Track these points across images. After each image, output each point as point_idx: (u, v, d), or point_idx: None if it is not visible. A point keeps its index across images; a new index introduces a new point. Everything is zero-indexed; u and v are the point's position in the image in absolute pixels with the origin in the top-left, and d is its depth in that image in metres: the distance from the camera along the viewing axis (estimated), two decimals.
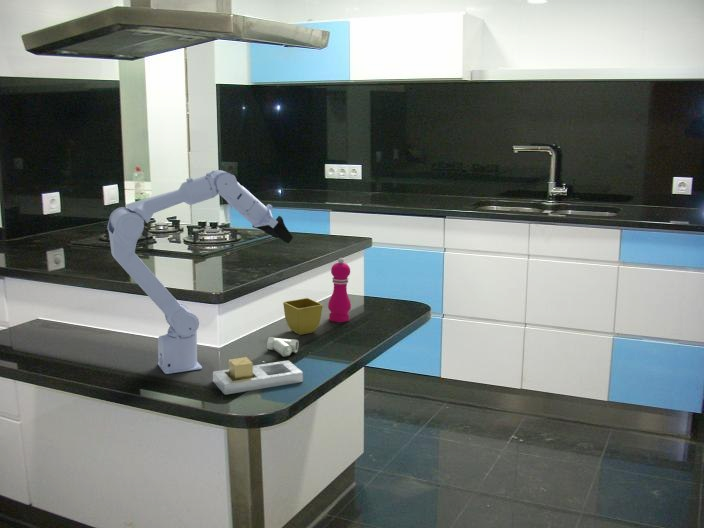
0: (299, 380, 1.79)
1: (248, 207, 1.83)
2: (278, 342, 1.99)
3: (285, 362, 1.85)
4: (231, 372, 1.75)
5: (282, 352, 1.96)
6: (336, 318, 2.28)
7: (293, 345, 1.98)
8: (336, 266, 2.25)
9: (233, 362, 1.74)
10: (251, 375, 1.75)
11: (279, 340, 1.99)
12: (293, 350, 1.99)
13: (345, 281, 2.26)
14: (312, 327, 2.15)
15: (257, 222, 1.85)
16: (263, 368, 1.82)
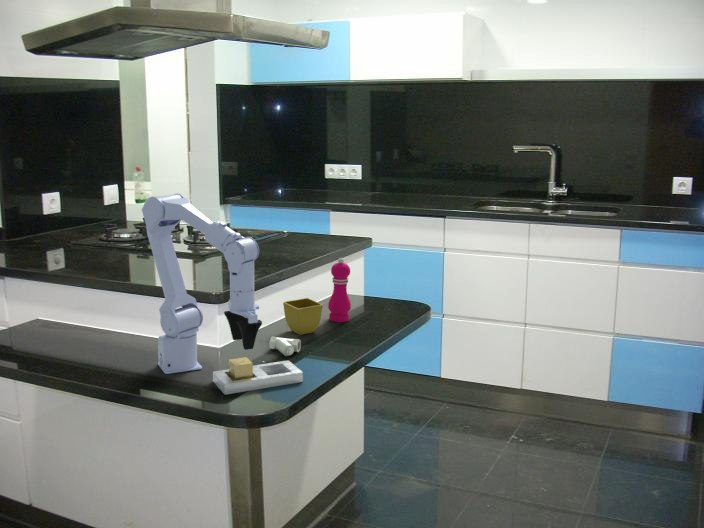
0: (299, 380, 1.79)
1: (232, 288, 1.69)
2: (280, 341, 1.99)
3: (285, 362, 1.85)
4: (231, 372, 1.75)
5: (284, 352, 1.96)
6: (336, 318, 2.28)
7: (295, 345, 1.99)
8: (336, 266, 2.25)
9: (233, 362, 1.74)
10: (251, 375, 1.75)
11: (281, 339, 2.00)
12: (295, 350, 1.99)
13: (345, 281, 2.26)
14: (312, 327, 2.15)
15: (237, 309, 1.70)
16: (263, 368, 1.82)
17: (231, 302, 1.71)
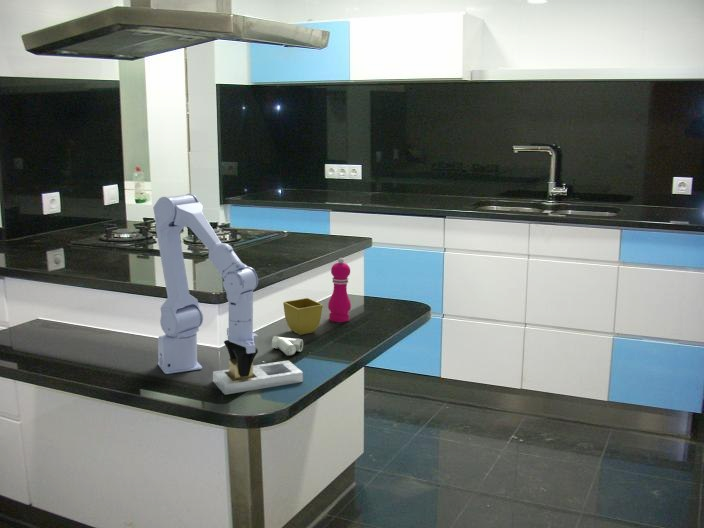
0: (299, 380, 1.79)
1: (231, 318, 1.71)
2: (282, 341, 1.99)
3: (285, 362, 1.85)
4: (231, 371, 1.75)
5: (286, 351, 1.97)
6: (336, 318, 2.28)
7: (297, 344, 1.99)
8: (336, 266, 2.25)
9: (233, 362, 1.74)
10: (251, 375, 1.75)
11: (284, 339, 2.00)
12: (297, 349, 1.99)
13: (345, 281, 2.26)
14: (312, 327, 2.15)
15: (236, 338, 1.71)
16: (263, 368, 1.82)
17: (229, 331, 1.72)
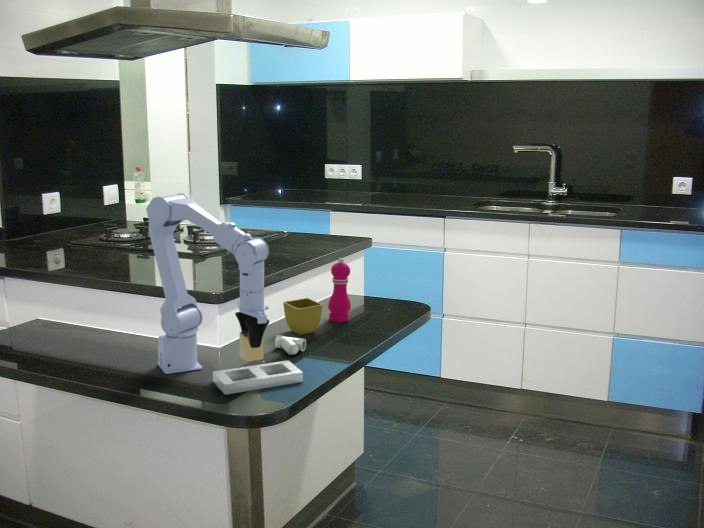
0: (299, 380, 1.79)
1: (243, 289, 1.70)
2: (285, 340, 2.00)
3: (285, 362, 1.85)
4: (242, 344, 1.75)
5: (288, 350, 1.97)
6: (336, 318, 2.28)
7: (300, 344, 1.99)
8: (336, 266, 2.25)
9: (244, 334, 1.74)
10: (262, 347, 1.75)
11: (286, 338, 2.01)
12: (300, 349, 2.00)
13: (345, 281, 2.26)
14: (312, 327, 2.15)
15: (247, 309, 1.71)
16: (263, 368, 1.82)
17: (241, 302, 1.72)
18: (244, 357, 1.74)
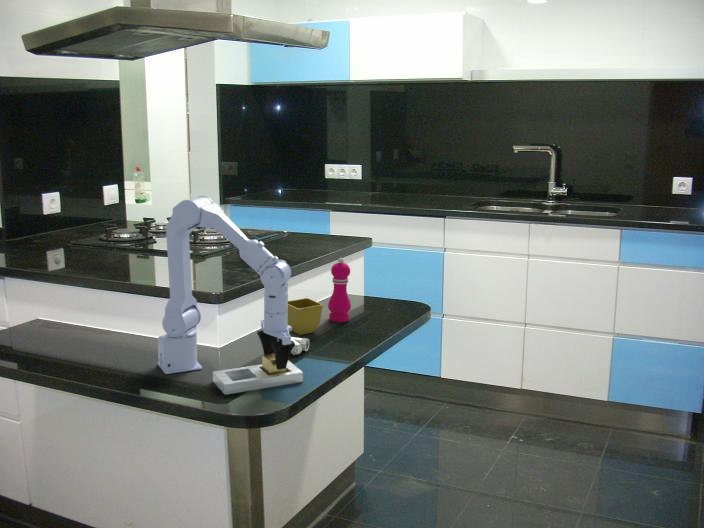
0: (299, 380, 1.79)
1: (269, 311, 1.74)
2: None
3: None
4: (264, 367, 1.79)
5: (292, 350, 1.97)
6: (336, 318, 2.28)
7: (303, 344, 1.99)
8: (336, 266, 2.25)
9: (267, 357, 1.78)
10: (284, 370, 1.79)
11: None
12: (303, 349, 2.00)
13: (345, 281, 2.26)
14: (312, 327, 2.15)
15: (271, 330, 1.75)
16: None
17: (265, 323, 1.76)
18: None
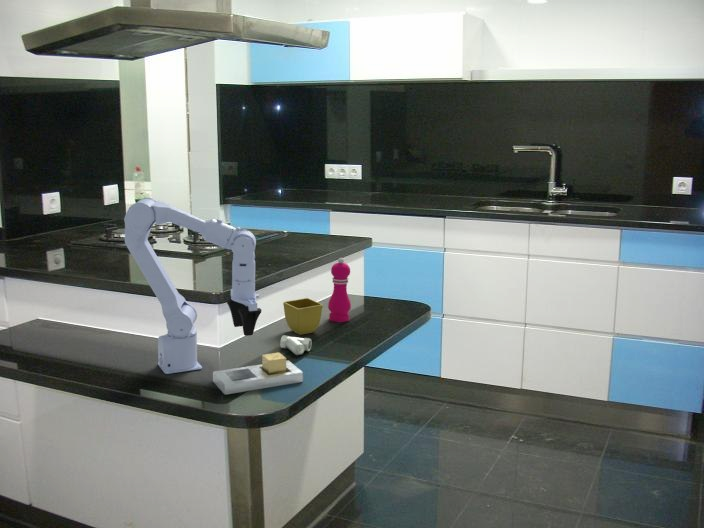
0: (299, 380, 1.79)
1: (240, 279, 1.80)
2: (291, 340, 2.00)
3: None
4: (264, 367, 1.79)
5: (295, 351, 1.97)
6: (336, 318, 2.28)
7: (306, 344, 2.00)
8: (336, 266, 2.25)
9: (267, 357, 1.78)
10: (284, 370, 1.79)
11: (292, 339, 2.01)
12: (306, 349, 2.00)
13: (345, 281, 2.26)
14: (312, 327, 2.15)
15: (239, 297, 1.81)
16: None
17: (233, 291, 1.82)
18: None
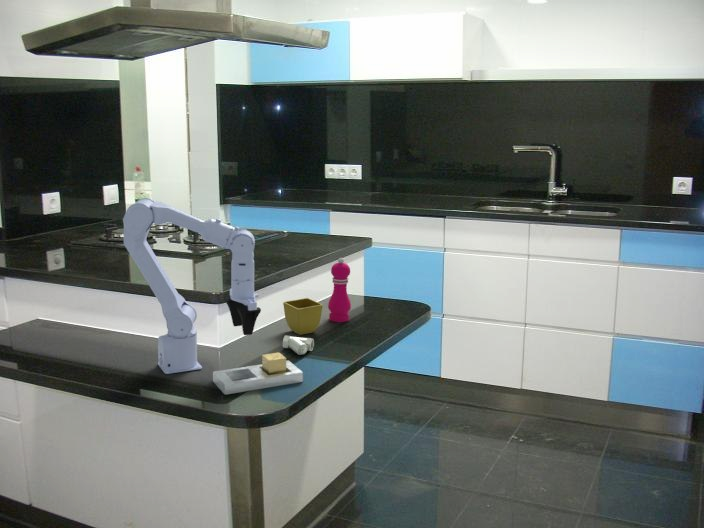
0: (299, 380, 1.79)
1: (239, 278, 1.80)
2: (293, 340, 2.00)
3: None
4: (264, 367, 1.79)
5: (298, 351, 1.97)
6: (336, 318, 2.28)
7: (309, 344, 2.00)
8: (336, 266, 2.25)
9: (267, 357, 1.78)
10: (284, 370, 1.79)
11: (295, 339, 2.01)
12: (309, 349, 2.00)
13: (345, 281, 2.26)
14: (312, 327, 2.15)
15: (238, 297, 1.81)
16: None
17: (232, 290, 1.82)
18: None
